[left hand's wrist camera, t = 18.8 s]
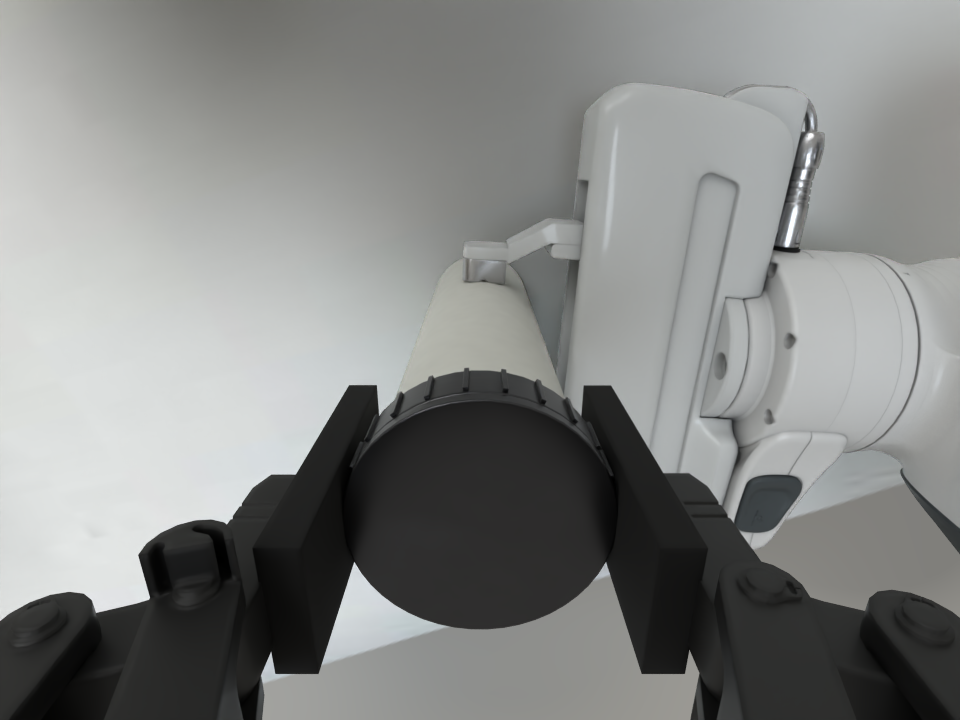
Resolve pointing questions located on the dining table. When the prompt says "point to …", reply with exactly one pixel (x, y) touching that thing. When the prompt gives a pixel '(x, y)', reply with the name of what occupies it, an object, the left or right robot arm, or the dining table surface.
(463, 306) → the jar
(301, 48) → the dining table surface
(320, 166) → the dining table surface
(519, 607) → the lid
